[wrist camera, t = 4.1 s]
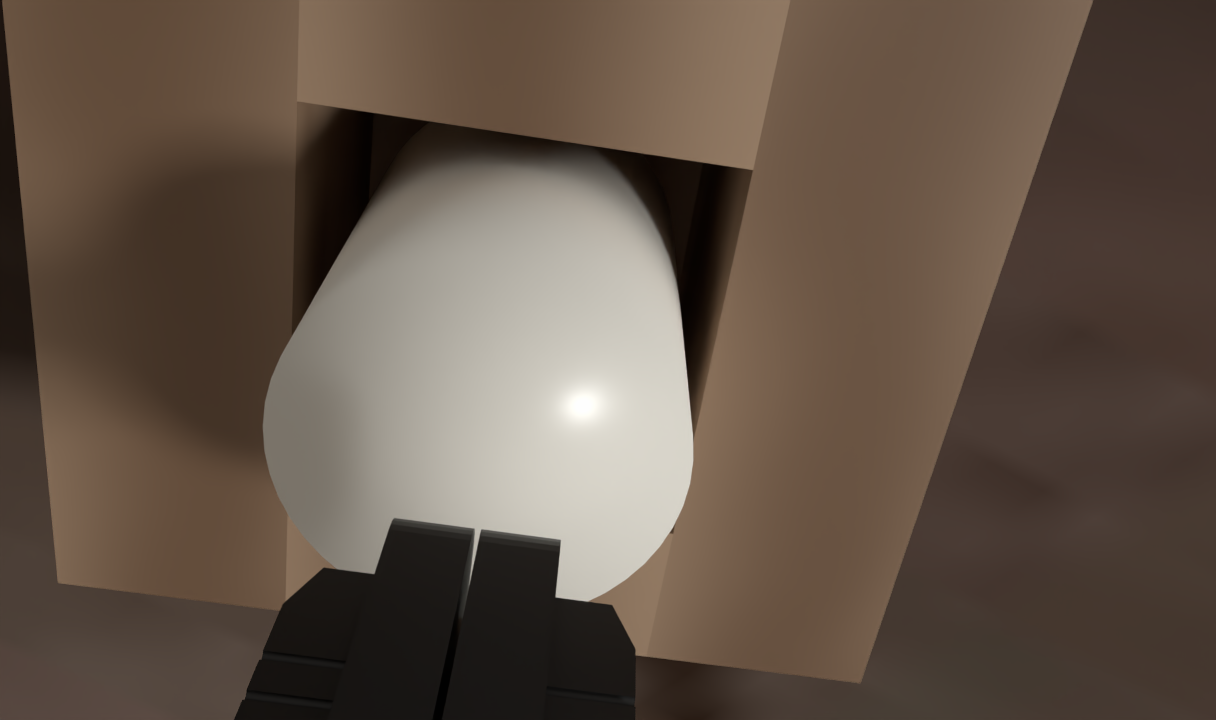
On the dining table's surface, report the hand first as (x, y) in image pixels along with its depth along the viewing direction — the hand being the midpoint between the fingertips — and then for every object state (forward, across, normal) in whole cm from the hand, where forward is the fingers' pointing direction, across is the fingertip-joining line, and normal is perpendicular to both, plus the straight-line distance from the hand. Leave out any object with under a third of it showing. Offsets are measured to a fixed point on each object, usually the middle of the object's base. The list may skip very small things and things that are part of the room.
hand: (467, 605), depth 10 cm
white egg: (+8, 0, 0) cm, 8 cm away
